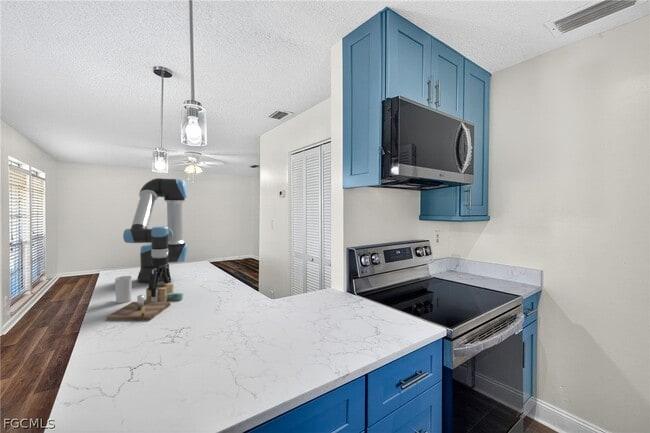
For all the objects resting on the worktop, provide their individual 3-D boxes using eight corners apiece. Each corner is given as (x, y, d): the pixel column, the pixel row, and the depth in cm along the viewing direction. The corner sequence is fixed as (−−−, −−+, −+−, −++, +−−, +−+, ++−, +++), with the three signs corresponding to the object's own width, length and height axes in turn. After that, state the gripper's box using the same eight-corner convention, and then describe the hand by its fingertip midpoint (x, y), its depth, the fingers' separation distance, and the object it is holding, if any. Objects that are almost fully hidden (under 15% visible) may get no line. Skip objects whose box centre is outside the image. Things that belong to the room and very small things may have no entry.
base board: (132, 304, 139) (132, 301, 139) (170, 305, 140) (170, 302, 140) (106, 320, 121) (106, 316, 121) (149, 320, 122) (149, 316, 122)
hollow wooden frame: (146, 302, 143) (146, 288, 143) (156, 296, 152) (156, 283, 152) (178, 302, 144) (177, 288, 143) (185, 296, 153) (185, 283, 152)
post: (139, 307, 132) (139, 295, 131) (145, 307, 132) (145, 295, 132) (136, 309, 129) (136, 296, 129) (141, 309, 129) (141, 296, 129)
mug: (134, 300, 146) (134, 276, 145) (121, 304, 140) (120, 280, 139) (122, 297, 150) (122, 274, 149) (108, 300, 144) (108, 277, 143)
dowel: (142, 314, 124) (142, 307, 124) (145, 314, 124) (145, 307, 124) (140, 316, 123) (140, 308, 123) (143, 316, 123) (143, 308, 123)
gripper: (155, 261, 135) (155, 307, 136) (177, 252, 158) (178, 291, 159) (139, 261, 135) (139, 307, 136) (164, 252, 158) (164, 291, 159)
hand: (160, 298), depth 148 cm, fingers open, 10 cm apart
